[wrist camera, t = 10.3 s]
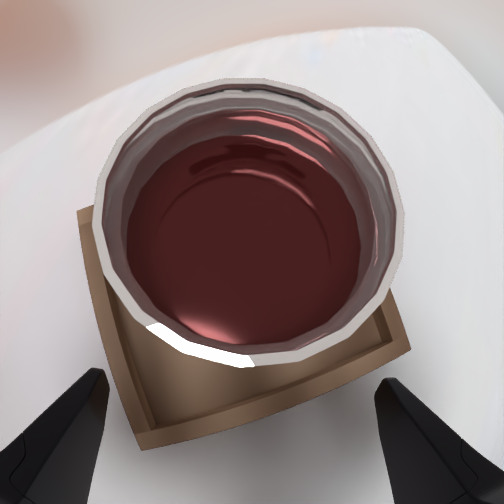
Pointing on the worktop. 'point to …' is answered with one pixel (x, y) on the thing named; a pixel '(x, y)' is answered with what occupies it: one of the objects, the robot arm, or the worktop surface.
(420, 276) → the worktop surface
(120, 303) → the tray
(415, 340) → the worktop surface
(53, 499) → the robot arm
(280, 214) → the wineglass
